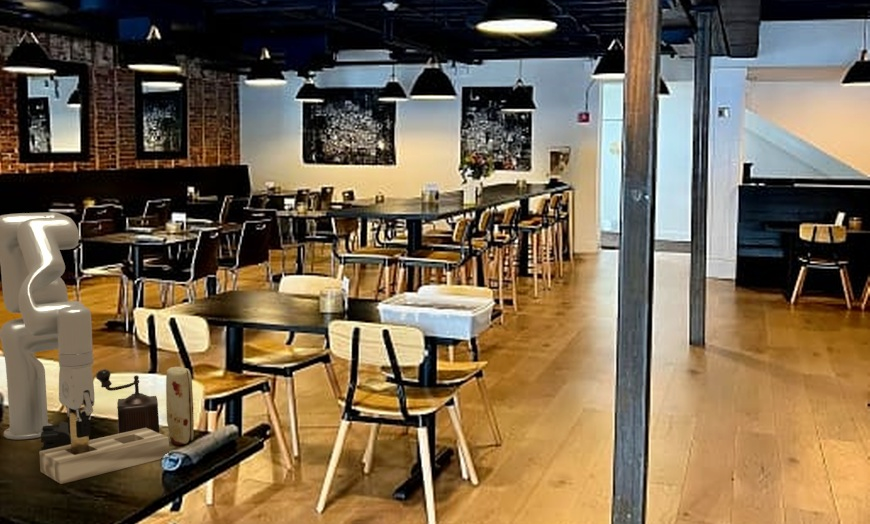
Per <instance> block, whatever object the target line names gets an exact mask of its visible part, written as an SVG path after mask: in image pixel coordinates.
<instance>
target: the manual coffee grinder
mask: <svg viewBox="0 0 870 524" xmlns="http://www.w3.org/2000/svg"><path fill="white" fill-rule="evenodd" d="M110 377H111V371H110V370H108V369H105V368H104V369H100V370H99V371H98V372H97V373H96V374H95V379H96V380H98V381H99V383H100V384H101V385H100V387H101V388H105V390H107V391H111V392H114V391H119V390H123V389H128V388H130V387H133V386H134V389H135V392H134V393H132V394H130V395H129V396H128V397H126V398H118V400H117V405H116V409H117V424H118V425H117V427H118V429H117V434H120V433H124V432H129V431H133V430H138V429H142V428H148V429H150V430H153V431H155V432H157V433H160V420H159V403H158V398H157V397H158V396H157V395H151V396H150V395H147V394H144V393H142V392H140V390H139V389H140V388H139V387H140V386H139V383H140V380H139V378H140V376H139V375H134V376H133V382H131V383H128V384H127V383H126V384H124V385H119V386H114V387H111V386H112V385H113V384H112V382H111V380H110Z"/></svg>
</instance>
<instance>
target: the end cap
mask: <svg viewBox="0 0 870 524" xmlns="http://www.w3.org/2000/svg"><path fill="white" fill-rule="evenodd" d="M42 431H43V432H41V437H40V443H43V445H42V446H41V448H40V449H41V450H40V451H43V450H48V449H52V448H57V447H61V446H66V445H70V444H71V435H70V433H69V432H68V422H65V421H59V424H52V425H50V426H43V428H42Z"/></svg>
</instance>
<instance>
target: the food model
mask: <svg viewBox="0 0 870 524" xmlns="http://www.w3.org/2000/svg"><path fill="white" fill-rule="evenodd" d="M165 376H166V379H165V381H166V382H165V383H166V384H165V392H166V393H165V397H166V398H165V399H166V401H165V403H166V404H165V405H166V423H167V428H168V435H169V436H168V437H169V439H170V440H171V443H172V444H173V445H177V446H180V445H185V444H188V443H189V441H193V440H194V431H195V426H194V424H195V423H194V422H195V421H194V418H195V417H194V397H193V396H194V393H193V380H192V379H193V378H192V374H191V370H190V369H189V368H186V367H181V366H172V367H169V368H168V369H167V370H166V375H165Z"/></svg>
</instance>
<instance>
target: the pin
mask: <svg viewBox="0 0 870 524" xmlns="http://www.w3.org/2000/svg"><path fill="white" fill-rule="evenodd" d="M83 411H84V410H81V414H82V412H83ZM69 414H70V416H69V417H70V435H71V454H73V455H77V454H81V453H85V452H89V440H90V436H86V437H81V438H78V437H77V434H76V421H78V420H77V412H76V411H72V412H70V413H69Z"/></svg>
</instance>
